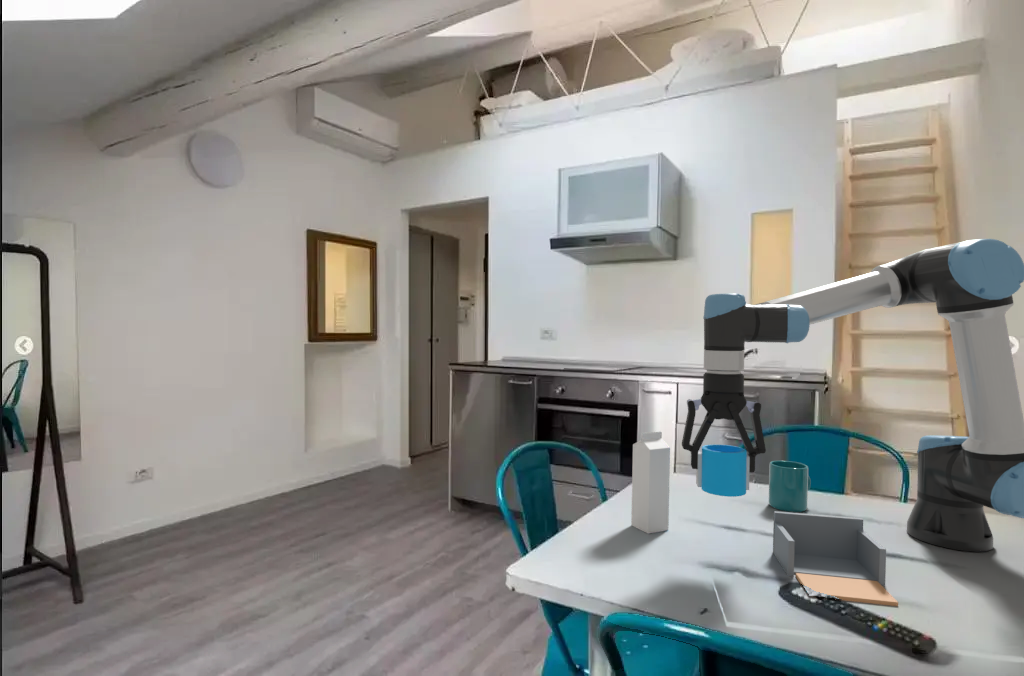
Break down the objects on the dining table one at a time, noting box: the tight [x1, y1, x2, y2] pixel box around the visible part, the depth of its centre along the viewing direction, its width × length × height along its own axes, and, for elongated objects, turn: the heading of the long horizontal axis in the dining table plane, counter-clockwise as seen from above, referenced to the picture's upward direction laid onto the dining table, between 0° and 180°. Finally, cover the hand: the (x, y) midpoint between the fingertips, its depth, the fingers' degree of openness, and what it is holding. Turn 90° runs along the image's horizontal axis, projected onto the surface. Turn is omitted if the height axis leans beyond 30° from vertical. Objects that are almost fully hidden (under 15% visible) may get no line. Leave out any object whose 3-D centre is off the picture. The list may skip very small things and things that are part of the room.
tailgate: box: [795, 573, 899, 607], centre depth 96 cm, size 13×1×8 cm
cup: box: [768, 460, 812, 513], centre depth 145 cm, size 9×12×11 cm
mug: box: [700, 443, 747, 498], centre depth 110 cm, size 12×8×8 cm
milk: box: [630, 431, 671, 534], centre depth 127 cm, size 6×6×22 cm
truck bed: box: [772, 510, 887, 586], centre depth 106 cm, size 16×11×9 cm
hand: (722, 486), depth 110 cm, fingers closed on mug, 8 cm apart
